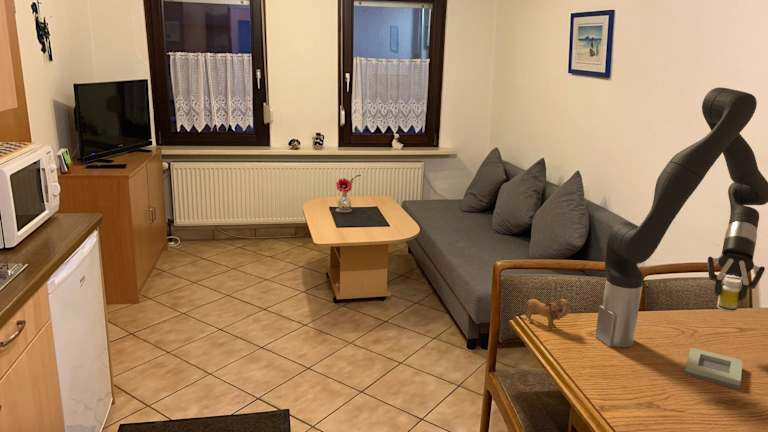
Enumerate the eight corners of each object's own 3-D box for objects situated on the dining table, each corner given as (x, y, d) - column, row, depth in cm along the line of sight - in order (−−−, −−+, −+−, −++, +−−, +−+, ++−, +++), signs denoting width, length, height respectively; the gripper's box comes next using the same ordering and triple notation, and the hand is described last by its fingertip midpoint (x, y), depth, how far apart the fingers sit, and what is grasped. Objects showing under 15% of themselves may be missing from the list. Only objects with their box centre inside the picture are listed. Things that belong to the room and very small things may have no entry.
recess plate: (739, 389, 148) (740, 381, 147) (684, 374, 153) (685, 366, 153) (740, 367, 158) (742, 360, 157) (689, 354, 163) (690, 347, 163)
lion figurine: (569, 327, 177) (572, 298, 175) (563, 334, 173) (567, 304, 170) (520, 314, 185) (523, 286, 182) (514, 320, 180) (516, 292, 178)
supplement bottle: (739, 313, 162) (745, 283, 160) (719, 311, 163) (726, 281, 161) (732, 306, 167) (739, 277, 164) (714, 304, 167) (720, 275, 165)
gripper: (712, 230, 169) (700, 284, 162) (772, 240, 162) (762, 297, 156) (709, 243, 175) (698, 296, 168) (767, 254, 168) (758, 309, 161)
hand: (729, 296), depth 162 cm, fingers closed on supplement bottle, 4 cm apart
